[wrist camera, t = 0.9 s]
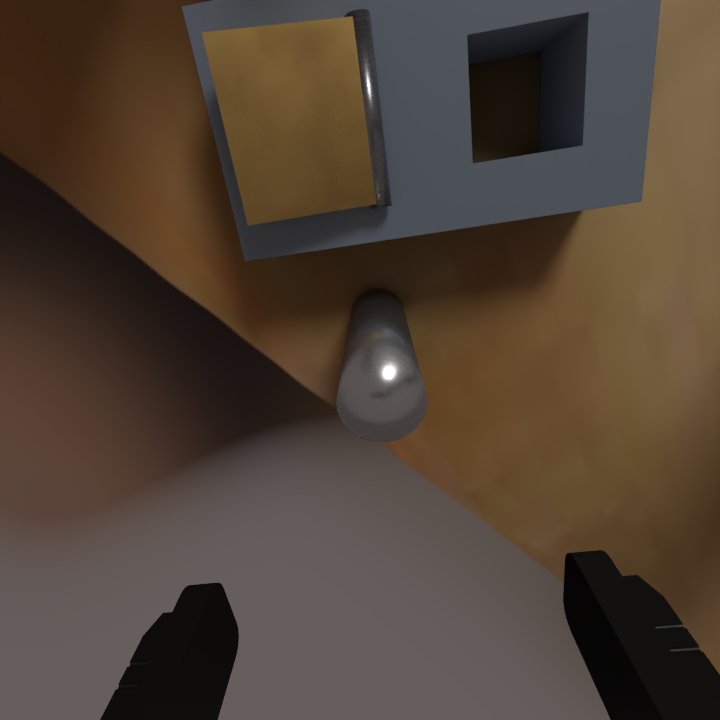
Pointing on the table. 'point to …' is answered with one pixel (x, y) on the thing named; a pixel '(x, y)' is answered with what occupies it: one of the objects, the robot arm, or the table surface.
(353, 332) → the steel pin
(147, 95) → the table surface
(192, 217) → the table surface
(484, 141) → the table surface
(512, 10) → the pin block
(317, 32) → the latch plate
